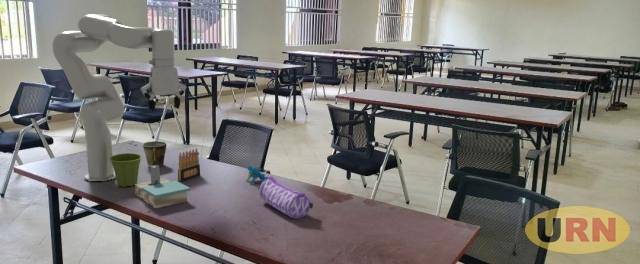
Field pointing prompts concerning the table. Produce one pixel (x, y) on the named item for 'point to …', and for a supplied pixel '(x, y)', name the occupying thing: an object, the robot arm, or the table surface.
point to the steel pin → (155, 175)
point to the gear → (255, 174)
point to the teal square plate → (165, 189)
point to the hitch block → (161, 200)
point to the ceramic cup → (155, 152)
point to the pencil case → (284, 198)
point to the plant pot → (126, 168)
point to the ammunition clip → (188, 166)
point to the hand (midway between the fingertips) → (164, 109)
